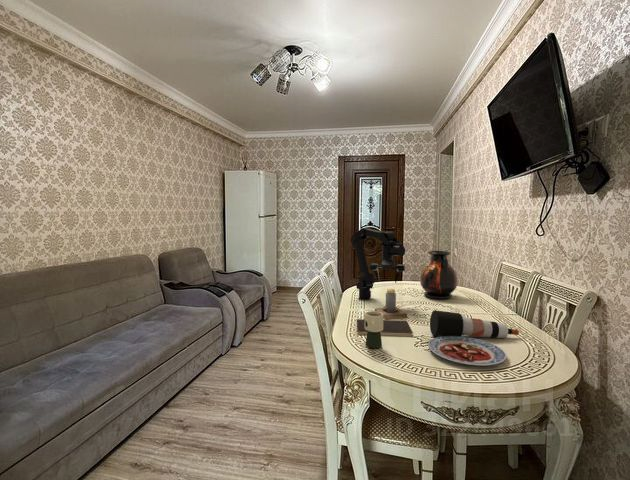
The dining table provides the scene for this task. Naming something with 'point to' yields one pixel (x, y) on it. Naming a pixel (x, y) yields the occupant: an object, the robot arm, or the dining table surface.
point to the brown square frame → (398, 313)
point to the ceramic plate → (467, 350)
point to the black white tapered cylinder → (466, 326)
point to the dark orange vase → (438, 277)
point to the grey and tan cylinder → (390, 301)
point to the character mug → (373, 328)
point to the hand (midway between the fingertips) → (387, 282)
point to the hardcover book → (388, 328)
